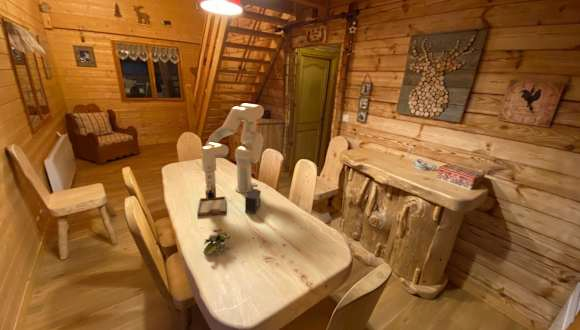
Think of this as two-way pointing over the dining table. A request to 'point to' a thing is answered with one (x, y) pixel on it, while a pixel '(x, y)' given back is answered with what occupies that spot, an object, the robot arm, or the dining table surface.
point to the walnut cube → (213, 191)
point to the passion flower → (217, 239)
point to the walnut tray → (212, 206)
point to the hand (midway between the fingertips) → (211, 195)
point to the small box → (252, 201)
